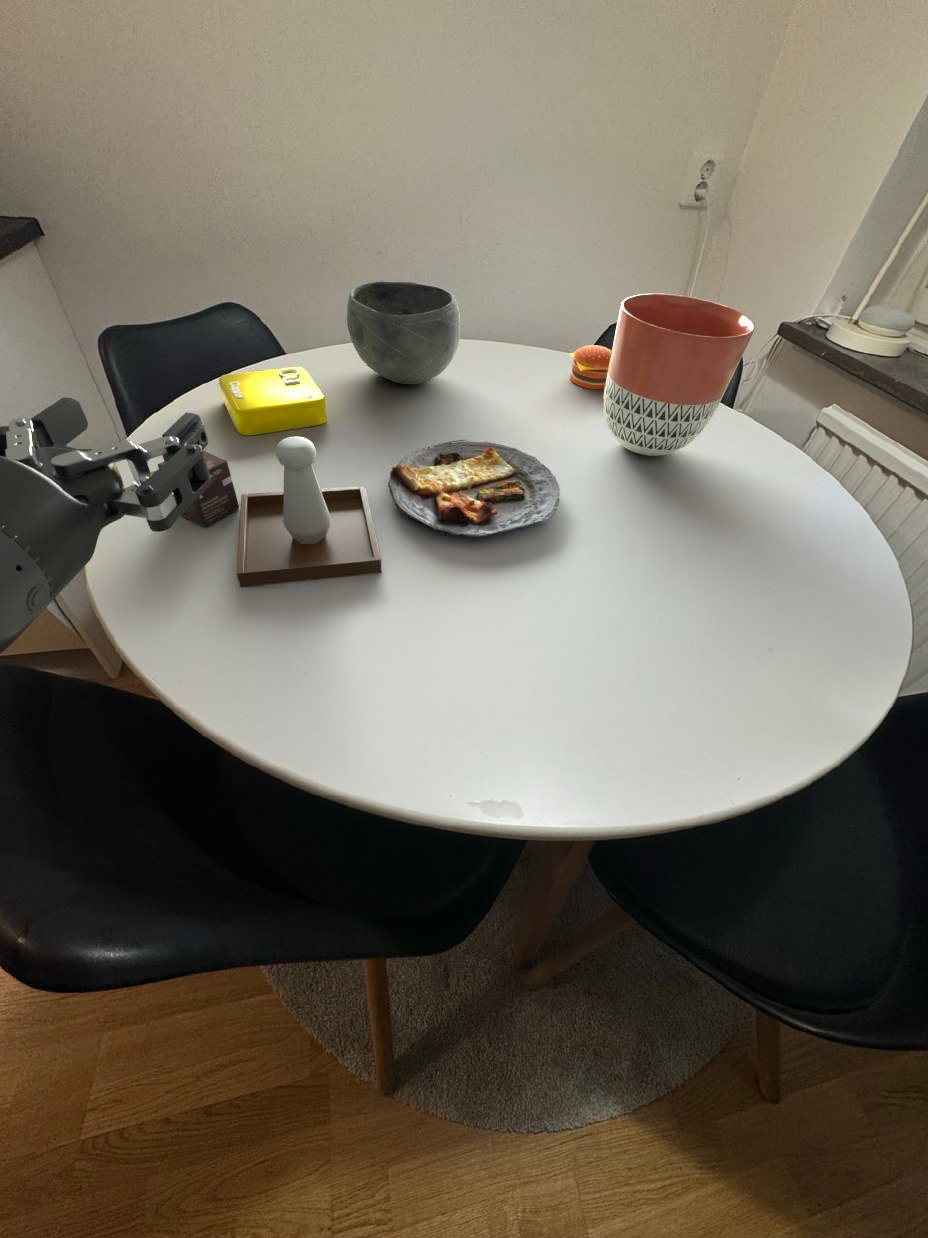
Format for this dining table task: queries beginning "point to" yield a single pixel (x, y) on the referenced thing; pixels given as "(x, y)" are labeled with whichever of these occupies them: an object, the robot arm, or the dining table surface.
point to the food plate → (474, 488)
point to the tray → (284, 559)
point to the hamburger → (590, 366)
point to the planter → (670, 369)
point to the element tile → (272, 400)
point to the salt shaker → (302, 492)
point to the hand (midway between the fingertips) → (137, 418)
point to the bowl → (404, 329)
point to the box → (214, 494)
